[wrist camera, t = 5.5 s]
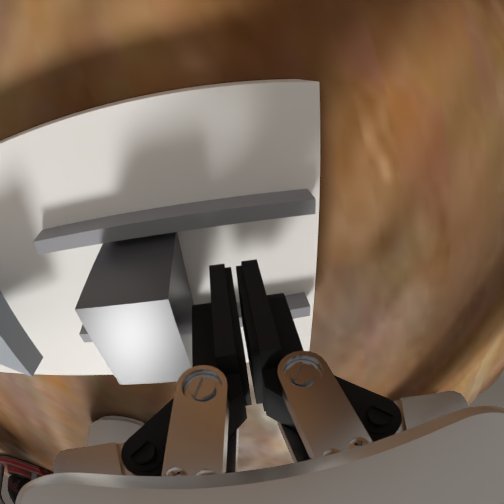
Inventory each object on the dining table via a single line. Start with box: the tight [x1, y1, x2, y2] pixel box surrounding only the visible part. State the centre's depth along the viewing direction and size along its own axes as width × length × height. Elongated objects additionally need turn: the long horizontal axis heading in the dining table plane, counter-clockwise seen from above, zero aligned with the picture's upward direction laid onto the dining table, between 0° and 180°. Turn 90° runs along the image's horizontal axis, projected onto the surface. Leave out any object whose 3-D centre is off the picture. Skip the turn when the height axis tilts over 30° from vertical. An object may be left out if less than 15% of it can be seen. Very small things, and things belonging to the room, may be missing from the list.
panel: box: [0, 79, 320, 375], centre depth 12 cm, size 30×14×5 cm, turn 94°
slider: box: [75, 232, 194, 385], centre depth 11 cm, size 3×4×4 cm
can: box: [87, 416, 145, 447], centre depth 21 cm, size 8×8×12 cm
